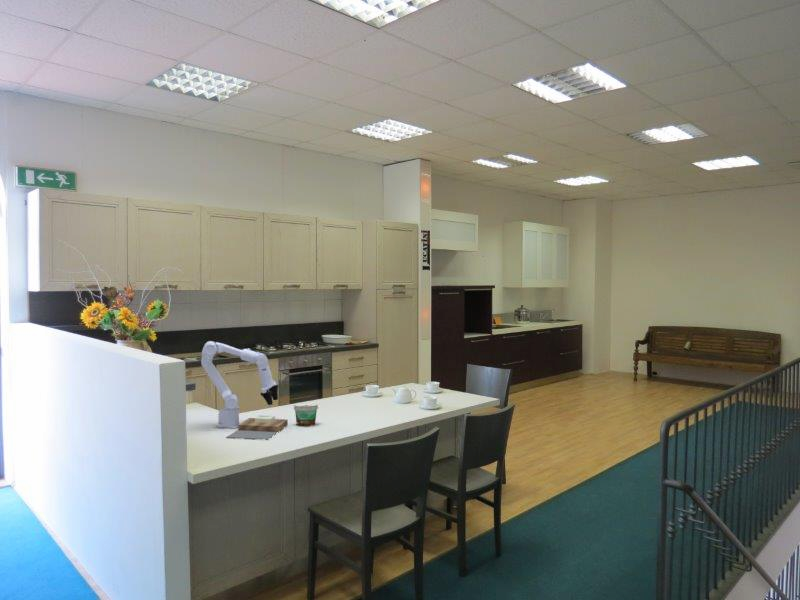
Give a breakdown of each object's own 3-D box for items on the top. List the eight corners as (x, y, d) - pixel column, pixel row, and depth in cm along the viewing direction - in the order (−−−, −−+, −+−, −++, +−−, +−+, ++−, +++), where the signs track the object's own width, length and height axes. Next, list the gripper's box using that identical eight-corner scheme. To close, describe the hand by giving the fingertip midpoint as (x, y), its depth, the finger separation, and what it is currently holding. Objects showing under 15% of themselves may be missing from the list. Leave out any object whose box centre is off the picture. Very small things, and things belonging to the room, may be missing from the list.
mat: (226, 438, 257) (226, 437, 257) (237, 431, 269) (237, 430, 269) (267, 440, 255) (267, 439, 255) (277, 433, 266) (277, 432, 266)
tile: (254, 422, 275) (254, 418, 275) (259, 419, 281) (259, 415, 281) (270, 423, 274) (270, 418, 274) (274, 420, 280) (274, 416, 279)
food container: (293, 427, 277) (293, 407, 277) (293, 424, 283) (293, 404, 283) (318, 426, 280) (318, 406, 279) (318, 423, 286) (318, 403, 285)
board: (237, 431, 270) (237, 424, 270) (249, 423, 284) (249, 417, 283) (277, 432, 267) (277, 426, 267) (287, 425, 281) (287, 419, 281)
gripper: (268, 379, 275) (275, 405, 277) (278, 371, 289) (285, 396, 291) (255, 382, 276) (262, 408, 278) (265, 374, 291) (272, 398, 292)
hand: (273, 402), depth 284 cm, fingers open, 7 cm apart
